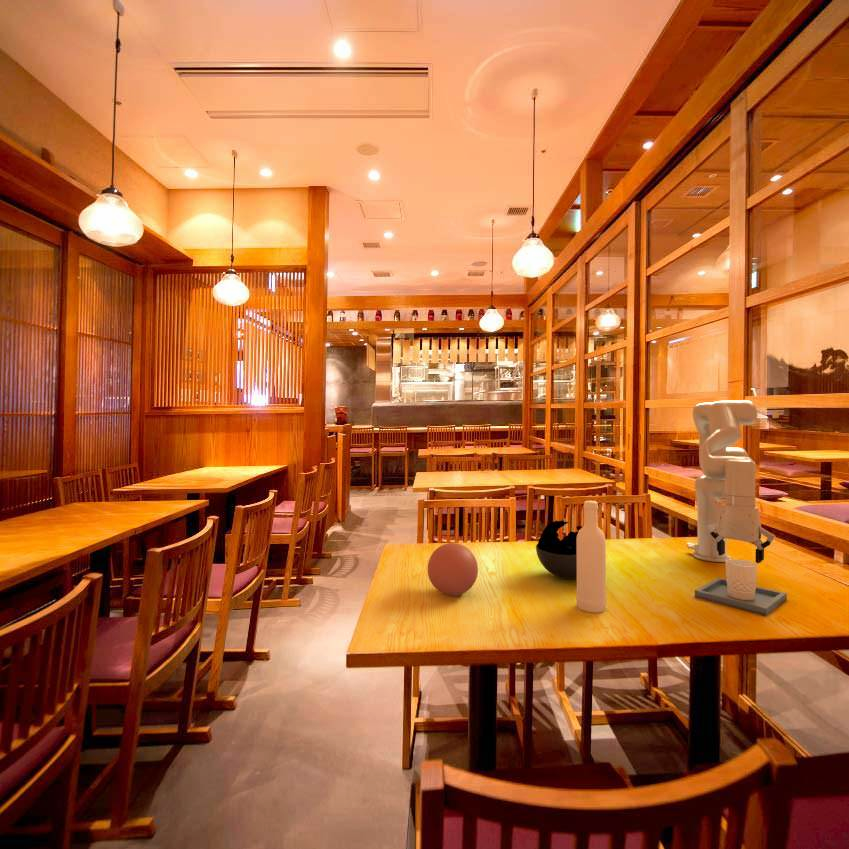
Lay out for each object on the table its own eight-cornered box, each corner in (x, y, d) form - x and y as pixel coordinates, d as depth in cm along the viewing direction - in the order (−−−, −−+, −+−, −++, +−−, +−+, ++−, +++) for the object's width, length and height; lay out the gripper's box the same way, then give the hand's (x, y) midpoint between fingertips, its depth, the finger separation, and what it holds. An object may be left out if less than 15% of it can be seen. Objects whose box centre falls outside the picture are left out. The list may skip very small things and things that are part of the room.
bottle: (602, 615, 129) (602, 504, 128) (573, 609, 133) (572, 502, 133) (608, 605, 135) (608, 500, 135) (580, 600, 140) (580, 498, 139)
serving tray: (694, 597, 142) (694, 590, 142) (718, 583, 153) (718, 577, 153) (766, 616, 128) (766, 608, 128) (786, 600, 139) (786, 593, 139)
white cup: (753, 593, 143) (752, 560, 143) (761, 602, 135) (761, 567, 135) (722, 590, 145) (722, 557, 145) (729, 599, 138) (729, 565, 138)
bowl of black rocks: (530, 568, 171) (530, 515, 171) (587, 568, 170) (586, 515, 170) (543, 587, 151) (542, 528, 151) (606, 587, 150) (606, 528, 150)
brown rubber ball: (463, 578, 159) (463, 533, 159) (485, 600, 140) (485, 548, 140) (419, 582, 156) (418, 536, 156) (435, 605, 136) (434, 552, 136)
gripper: (702, 498, 145) (702, 554, 145) (770, 506, 131) (770, 568, 132) (712, 495, 149) (712, 549, 150) (779, 503, 136) (778, 562, 136)
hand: (739, 558), depth 141 cm, fingers open, 9 cm apart
